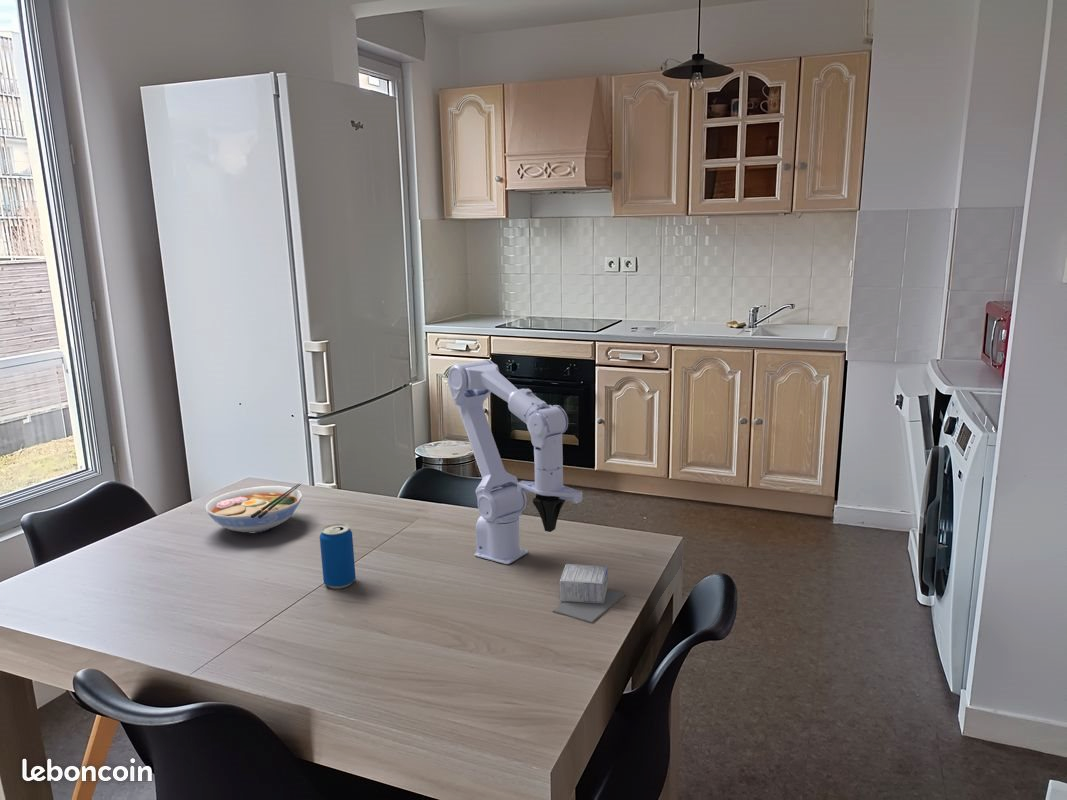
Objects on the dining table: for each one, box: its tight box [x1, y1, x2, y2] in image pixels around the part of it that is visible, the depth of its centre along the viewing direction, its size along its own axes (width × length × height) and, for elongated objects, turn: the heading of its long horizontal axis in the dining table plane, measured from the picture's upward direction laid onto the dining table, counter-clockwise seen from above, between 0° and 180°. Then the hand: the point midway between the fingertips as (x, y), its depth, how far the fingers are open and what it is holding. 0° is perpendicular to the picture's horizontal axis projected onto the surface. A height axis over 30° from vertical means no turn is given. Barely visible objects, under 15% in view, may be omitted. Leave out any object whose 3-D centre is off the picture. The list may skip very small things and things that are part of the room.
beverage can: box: [319, 523, 357, 590], centre depth 158 cm, size 6×6×12 cm
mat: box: [552, 588, 625, 624], centre depth 148 cm, size 8×13×1 cm, turn 146°
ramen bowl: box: [204, 483, 303, 533], centre depth 190 cm, size 25×23×8 cm
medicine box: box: [559, 563, 609, 604], centre depth 150 cm, size 8×4×9 cm
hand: (550, 530), depth 157 cm, fingers closed
